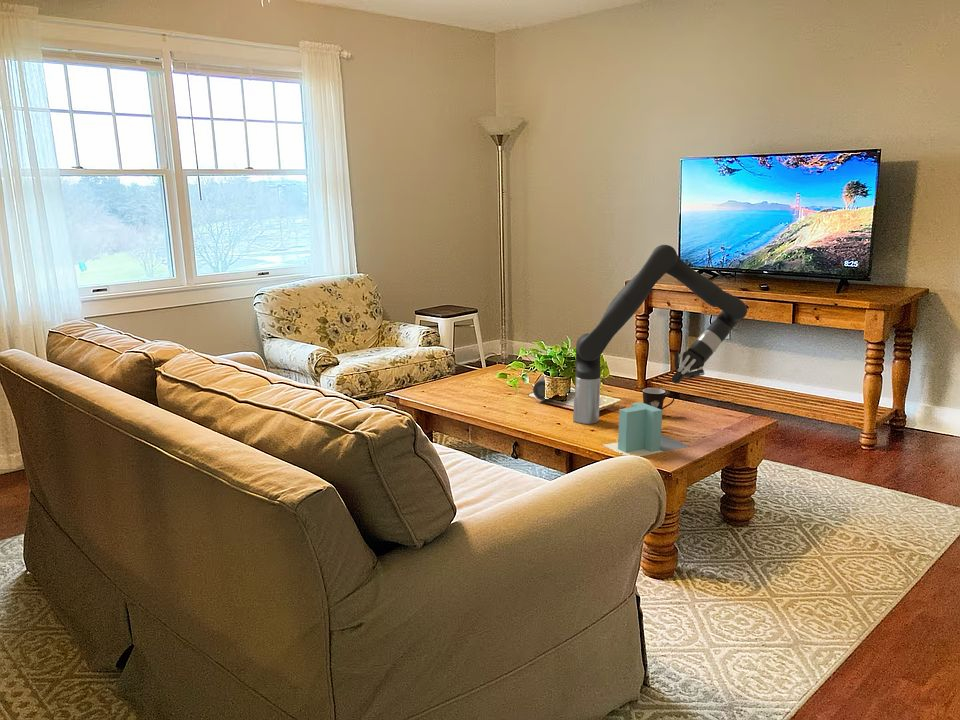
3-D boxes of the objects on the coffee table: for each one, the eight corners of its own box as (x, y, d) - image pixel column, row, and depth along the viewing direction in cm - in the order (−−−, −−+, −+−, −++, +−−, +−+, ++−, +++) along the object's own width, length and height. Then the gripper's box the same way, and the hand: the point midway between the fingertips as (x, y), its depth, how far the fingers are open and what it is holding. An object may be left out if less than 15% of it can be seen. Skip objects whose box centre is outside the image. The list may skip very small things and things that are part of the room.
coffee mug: (638, 416, 305) (639, 392, 303) (644, 411, 312) (646, 387, 310) (668, 421, 300) (669, 395, 297) (674, 415, 307) (675, 390, 305)
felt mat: (660, 436, 282) (661, 433, 282) (690, 448, 269) (690, 446, 269) (602, 447, 270) (602, 444, 270) (630, 460, 257) (630, 458, 257)
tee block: (638, 440, 274) (640, 402, 271) (660, 449, 265) (662, 410, 262) (611, 446, 269) (612, 406, 266) (632, 455, 259) (634, 415, 256)
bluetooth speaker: (553, 404, 321) (553, 380, 319) (531, 402, 325) (532, 378, 323) (569, 391, 342) (569, 368, 340) (548, 388, 345) (549, 366, 343)
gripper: (688, 331, 280) (657, 367, 278) (719, 350, 272) (687, 388, 271) (691, 341, 286) (660, 376, 284) (721, 360, 278) (690, 396, 277)
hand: (673, 382), depth 277 cm, fingers closed
